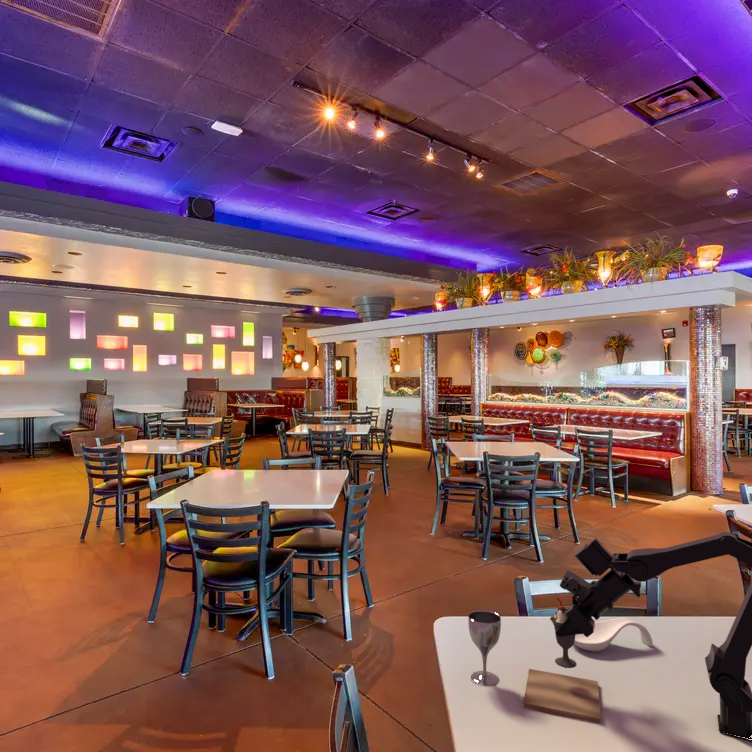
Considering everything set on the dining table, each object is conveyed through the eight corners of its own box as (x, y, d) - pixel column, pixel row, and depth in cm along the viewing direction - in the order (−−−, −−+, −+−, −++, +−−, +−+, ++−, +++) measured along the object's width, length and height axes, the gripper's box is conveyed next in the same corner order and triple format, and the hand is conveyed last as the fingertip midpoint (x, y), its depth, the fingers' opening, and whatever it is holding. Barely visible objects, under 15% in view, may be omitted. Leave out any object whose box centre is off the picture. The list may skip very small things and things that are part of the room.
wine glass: (477, 689, 124) (477, 624, 125) (463, 672, 132) (463, 612, 133) (507, 684, 126) (506, 621, 127) (491, 668, 134) (491, 608, 135)
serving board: (600, 723, 111) (600, 718, 111) (523, 707, 117) (523, 702, 117) (597, 685, 126) (597, 681, 126) (529, 672, 132) (529, 668, 132)
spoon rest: (580, 658, 140) (580, 631, 141) (559, 638, 152) (559, 613, 152) (661, 653, 143) (661, 627, 144) (635, 634, 155) (634, 610, 155)
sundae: (551, 654, 130) (550, 593, 131) (580, 659, 128) (579, 596, 128) (550, 667, 124) (549, 602, 125) (580, 672, 121) (579, 606, 122)
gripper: (585, 552, 133) (541, 589, 138) (575, 573, 117) (526, 615, 121) (620, 589, 129) (573, 626, 134) (615, 616, 113) (562, 657, 117)
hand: (559, 629), depth 127 cm, fingers closed on sundae, 6 cm apart
